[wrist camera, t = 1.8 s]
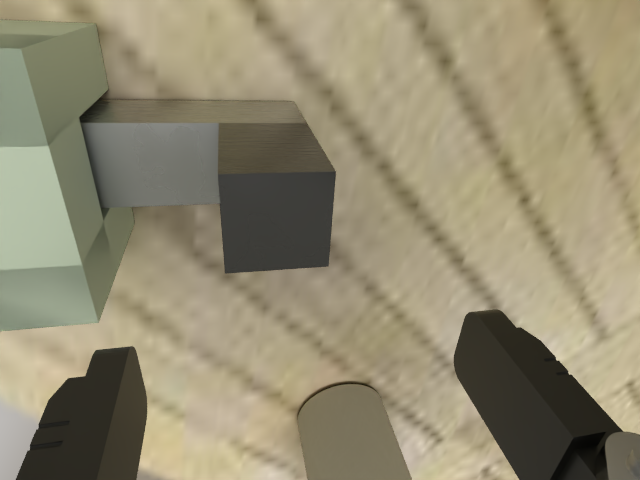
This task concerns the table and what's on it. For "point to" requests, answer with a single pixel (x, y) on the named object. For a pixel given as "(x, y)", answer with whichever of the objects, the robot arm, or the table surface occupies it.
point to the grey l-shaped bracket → (220, 172)
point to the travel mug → (349, 436)
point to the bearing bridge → (52, 179)
